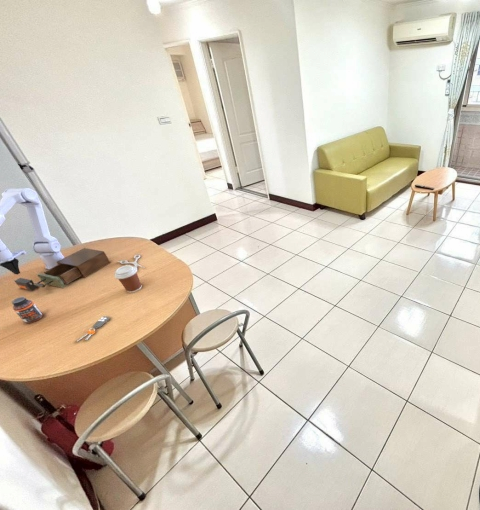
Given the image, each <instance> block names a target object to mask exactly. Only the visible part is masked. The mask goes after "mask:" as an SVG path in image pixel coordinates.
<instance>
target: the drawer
mask: <svg viewBox="0 0 480 510" xmlns="http://www.w3.org/2000/svg"><path fill="white" fill-rule="evenodd" d="M36 275H37V277H38V278H39V279H40V281H37V282H34V285H35V286H37V287H40V288H45V287H46V286H47V285H48V286H53V287H57V288H63V289H64V288H66V287H67V286H66V285H68V284H70V283H72V282H73V281H75V280H77V279H78V278H81V277H80V276H82V274H81V273H80V271H79V270H78V268H77V267H74V266H69V265H64V264H58V265H56V266H54V267H53V268H51V269H47V270H45V271H43V273H41V272H39V273H37V274H36ZM42 283H43V284H42Z"/></svg>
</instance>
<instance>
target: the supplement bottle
mask: <svg viewBox="0 0 480 510" xmlns="http://www.w3.org/2000/svg"><path fill="white" fill-rule="evenodd" d="M11 303H12V305H13V306H12V310H13V312H15V313H16V314H17V316H18V317H19V318H20V320H22V321H23V322H24V323H25V324H32V323H35V322H37V321H39V320H40V319H42V318H43V316H44V314H43V313H42V312H41V310H40V309H39V307H37V305H36V304H35V303H34V302H33V301H32V300H31V299H27V298H26V297H25V296H19V297H17V298H15V299H13V300H12V301H11Z"/></svg>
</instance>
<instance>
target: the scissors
mask: <svg viewBox="0 0 480 510" xmlns="http://www.w3.org/2000/svg"><path fill="white" fill-rule="evenodd" d="M140 258H141V255H140V254H135V255H134V256H133V259H134V261H129V262H128V260H127V259H123V260H117V263H120V264H121V265H125V264H126V265H130V264H131V265H134V266H133V267H135V268H136V269H137V270H138V267H140V268H144V266H143V265H141V264H139V263H138V260H139V259H140Z"/></svg>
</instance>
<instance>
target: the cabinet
mask: <svg viewBox="0 0 480 510" xmlns="http://www.w3.org/2000/svg"><path fill="white" fill-rule="evenodd" d="M57 264H64V265H69V266H74V267H77V268H78V270H79V271H80V273H81V274H82V276H80V277H79V278H84V279H86V278H88V277H89V276H90V275H92V274H94V273H96V272H97V271H99V270H101V269H102V268H104V267H106V266H107V265H109V264H111V261H110V259H109V258H108V256H107V254H106V252H105V251H104V250H100V249H99V250H98V249H93V248H86V247H83V248H81V249H79V250H77V251H76V252H75V251H74V252H72V253H71V254H69V255H67V256H64V258H63V259H61V260H59V261H57Z"/></svg>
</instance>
